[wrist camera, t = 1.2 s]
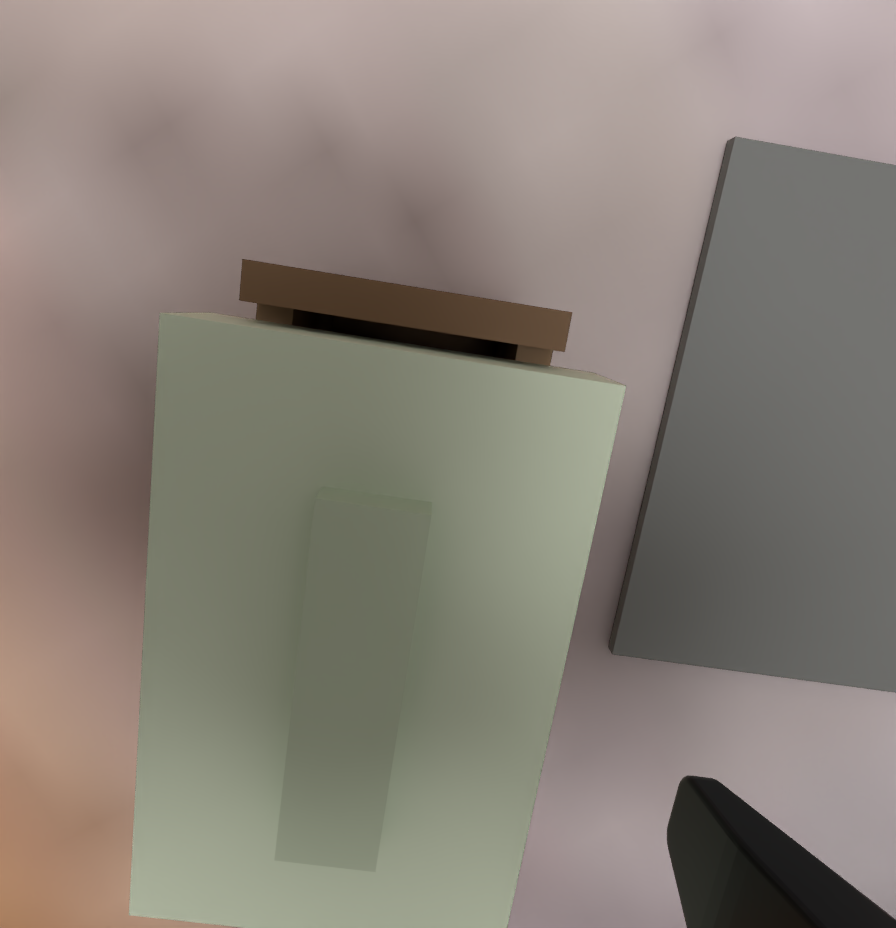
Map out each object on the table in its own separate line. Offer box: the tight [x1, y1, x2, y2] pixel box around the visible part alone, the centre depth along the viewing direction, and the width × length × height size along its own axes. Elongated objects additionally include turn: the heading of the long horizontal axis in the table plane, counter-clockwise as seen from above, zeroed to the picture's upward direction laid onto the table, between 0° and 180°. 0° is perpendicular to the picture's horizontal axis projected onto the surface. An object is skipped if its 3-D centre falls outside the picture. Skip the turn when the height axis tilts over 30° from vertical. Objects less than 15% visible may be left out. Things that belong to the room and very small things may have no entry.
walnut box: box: [239, 259, 572, 366], centre depth 14 cm, size 12×5×6 cm, turn 171°
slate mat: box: [609, 137, 896, 693], centre depth 16 cm, size 9×13×1 cm
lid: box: [129, 313, 626, 928], centre depth 11 cm, size 10×6×3 cm, turn 171°
